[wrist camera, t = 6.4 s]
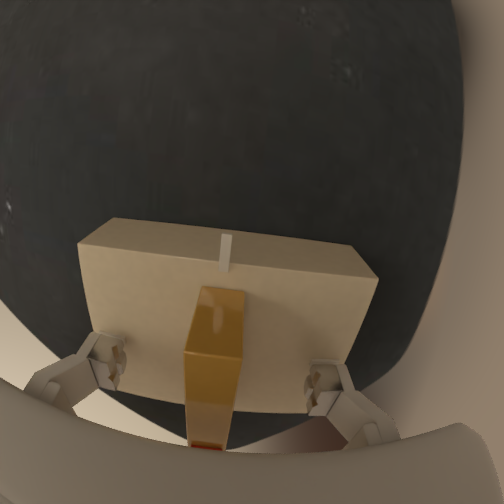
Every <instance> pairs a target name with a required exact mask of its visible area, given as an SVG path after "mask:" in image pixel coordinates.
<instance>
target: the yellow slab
mask: <svg viewBox="0 0 504 504" xmlns="http://www.w3.org/2000/svg"><path fill="white" fill-rule="evenodd" d="M244 307H245V292H244V291H238V290H230V289H222V288H215V287H207V286H202V287H201V290H200V293H199V296H198V300H197V303H196V307H195V310H194V314H193V317H192V321H191V324H190V328H189V331H188V335H187V339H186V342H185V346H184V350H183V374H184V398H185V415H186V429H187V441H188V447H194V448H201V449H209V450H217V451H226V446H227V441H228V436H229V431H230V426H231V420H232V415H233V410H234V405H235V400H236V395H237V389H238V384H239V379H240V374H241V368H242V363H243V345H244Z"/></svg>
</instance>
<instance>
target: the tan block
mask: <svg viewBox="0 0 504 504" xmlns="http://www.w3.org/2000/svg"><path fill="white" fill-rule="evenodd" d="M77 245H78V253H79V260H80V267H81V273H82V279H83V285H84V290H85V296H86V300H87V305H88V310H89V314H90V318H91V323H92V327H93V331H94V332H95V333H99V334H103V335H106V336H110V337H113V338H117V339H121V340H123V343H124V348H123V351H124V352H125V353H126V357H127V363H126V368H125V371H124V373H123V374H121V375H119V377H120V382H119V385H118V387H117V389H116V390H119V391H123V392H127V393H131V394H135V395H139V396H143V397H148V398H152V399H157V400H162V401H167V402H173V403H179V404H185V398H184V374H183V350H184V346H185V342H186V339H187V335H188V331H189V328H190V324H191V321H192V317H193V314H194V310H195V307H196V303H197V300H198V296H199V293H200V290H201V287H202V286H207V287H215V288H222V289H230V290H238V291H244V292H245V307H244V345H243V363H242V368H241V374H240V379H239V384H238V389H237V395H236V400H235V405H234V410H233V411H245V412H262V413H308V412H307V407H306V403H307V401H308V399H307V398H306V397H305V396H304V382H305V379H306V377H307V376H308V375H310V371H309V370H310V367H311V366H312V365H313V364H333V365H334V364H344V363H345V361H346V358H347V356H348V354H349V352H350V350H351V348H352V345H353V343H354V341H355V339H356V336H357V334H358V332H359V330H360V327H361V325H362V322H363V320H364V318H365V315H366V313H367V310H368V308H369V305H370V302H371V300H372V297H373V294H374V292H375V289H376V286H377V284H378V281H379V279H378V277H377V276H376V275H375V274H374V272H373V271H372V270H371V269H370V267H369V266H368V265H367V264H366V263H365V261H364V260H363V259H362V258H361V256H360V255H359V254H358V253H357V252H356V251H355V249H354V248H353V247H352V246H350V245H343V244H336V243H329V242H321V241H314V240H306V239H299V238H291V237H283V236H276V235H268V234H259V233H251V232H243V231H235V230H226V229H218V228H209V227H200V226H191V225H182V224H172V223H163V222H153V221H143V220H133V219H123V218H112V219H111V220H109V221H108V222H106V223H105V224H104V225H102V226H101V227H99V228H98V229H96V230H95V231H94V232H92V233H91V234H90V235H88V236H87V237H85V238H84V239H83V240H81V241H80V242H79V243H78V244H77Z"/></svg>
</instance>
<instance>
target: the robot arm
mask: <svg viewBox="0 0 504 504" xmlns="http://www.w3.org/2000/svg"><path fill="white" fill-rule="evenodd" d="M123 348H124V343H123V340H121V339H117V338H113V337H110V336H106V335H103V334H99V333H95V332H91V333H90V334H89V335H88V337H87V338H86V340H85V341H84V343H83V344H82V346H81V348H80V349H79V351H78V352H77V354H76V355H75V354H72V355H70V356H68V357H66V358H64V359H62V360H60V361H58V362H56V363H54V364H52V365H50V366H47V367H45V368H43V369H41V370H39V371H37V372H35V373H34V375H33V376H32V378H31V379H30V381H29V382H28V384H27V385H26V387H25V389H24V390H21V389H19V388H17V387H15V386H14V385H12V384H10V383H9V382H7V381H5V380H3V379H2V378H0V504H504V501H503V496H502V492H501V487H500V483H499V479H498V476H497V473H496V470H495V467H494V464H493V461H492V458H491V456H490V453H489V450H488V448H487V445H486V443H485V441H484V439H483V438H482V436H481V435H480V434H478V433H477V432H476V431H474V430H473V429H471V428H470V427H468V426H467V425H465V424H463V423H455V424H452V425H449V426H446V427H443V428H440V429H437V430H434V431H430V432H427V433H424V434H420V435H417V436H413V437H409V438H405V439H401V438H400V435H399V432H398V430H397V427H396V425H395V422H394V419H393V418H392V417H390V416H389V415H388V414H386V413H385V412H384V411H383V410H381V409H380V408H379V407H378V406H376V405H375V404H374V403H373V402H371V401H370V400H369V399H368V398H366V397H365V396H364V395H363V394H362V393H360V392H359V391H355V388H354V385H353V383H352V380H351V377H350V374H349V372H348V369H347V366H346V365H345V364H334V365H333V364H313V365H312V366H311V367H310V370H309V371H310V375H308V376H307V377H306V379H305V382H304V396H305V397H306V398H307V399H308V401H307V403H306V407H307V412H308V416H326V417H327V418H328V419H329V421H330V422H331V423H332V424H333V425H334V426H335V427H336V429H338V431H339V432H340V433H341V434H342V435H343V436H344V437H345V439H346V440H347V441H348V442H349V443H348V444H347V445H346V446H345V447H344V448H343V450H337V451H327V452H314V453H297V454H296V453H294V454H261V453H259V454H258V453H240V452H228V451H217V450H209V449H201V448H194V447H188V446H182V445H176V444H171V443H166V442H161V441H156V440H152V439H148V438H143V437H140V436H136V435H132V434H129V433H125V432H121V431H118V430H115V429H112V428H109V427H106V426H102V425H100V424H97V423H94V422H91V421H88V420H86V419H83V418H80V417H78V416H77V415H76V413H75V412H74V410H73V408H72V407H73V406H74V405H76V404H77V403H78V402H80V401H81V400H83V399H84V398H85V397H87V396H88V395H89V394H91V393H92V392H94V391H95V390H96V389H98V388H99V387H102V388H106V389H109V390H113V391H116V389H117V387H118V385H119V382H120V377H119V375H121V374H123V373H124V371H125V368H126V363H127V357H126V353H125V352H124V351H123Z"/></svg>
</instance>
